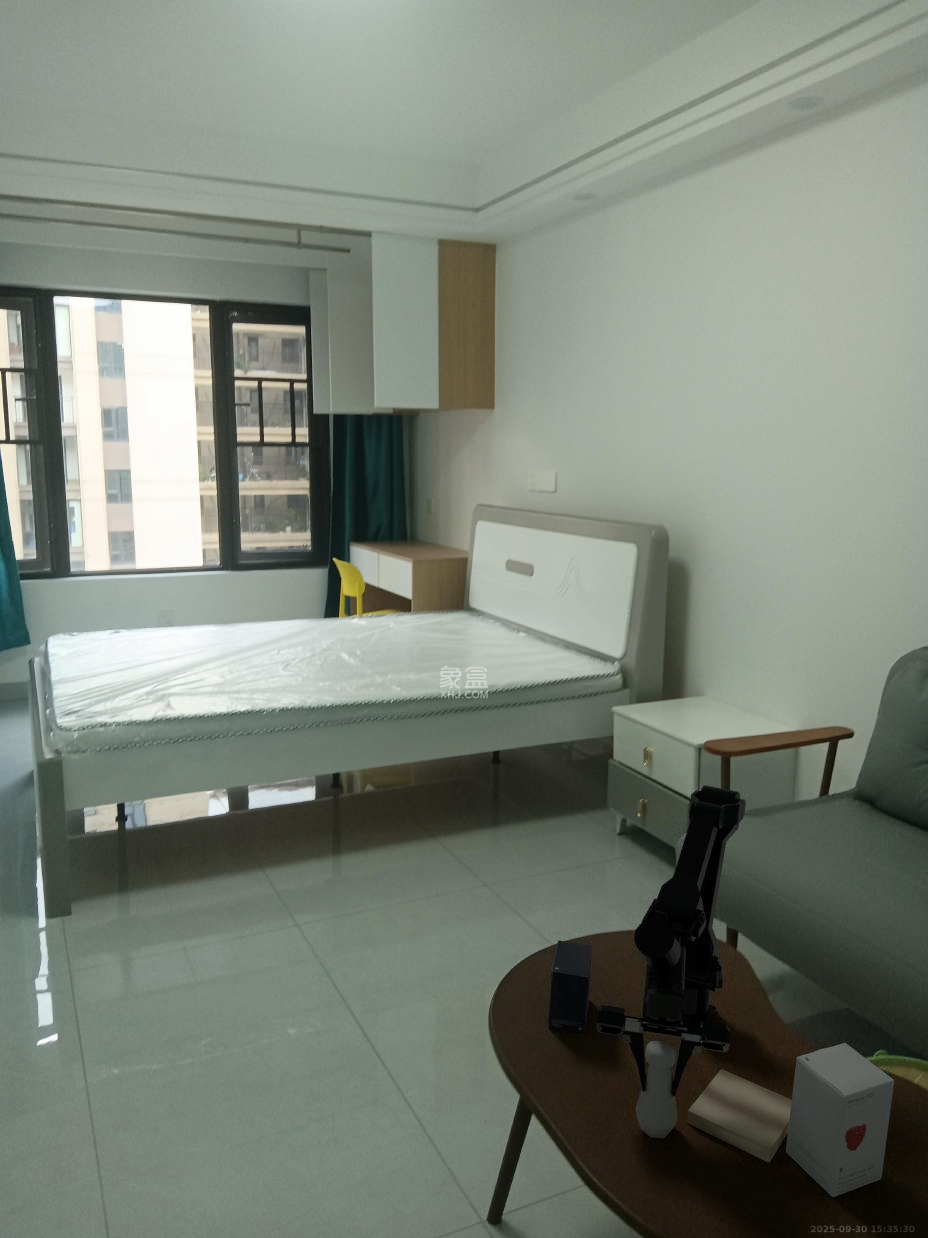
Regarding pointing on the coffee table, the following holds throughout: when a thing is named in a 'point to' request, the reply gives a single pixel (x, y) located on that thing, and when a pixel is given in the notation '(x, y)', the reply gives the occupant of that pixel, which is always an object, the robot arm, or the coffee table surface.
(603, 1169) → the coffee table surface
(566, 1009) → the small box
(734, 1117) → the oak block
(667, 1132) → the salt shaker
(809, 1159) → the supplement box
